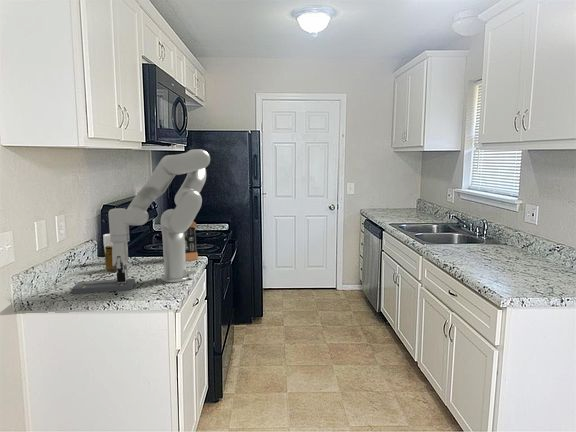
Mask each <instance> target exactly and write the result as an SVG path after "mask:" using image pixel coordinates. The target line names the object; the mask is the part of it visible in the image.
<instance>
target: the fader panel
mask: <svg viewBox="0 0 576 432" xmlns="http://www.w3.org/2000/svg"><path fill="white" fill-rule="evenodd" d="M135 284H136V278H127V281H126V283H118V282H117V278H115V279H103V280H101V279H100V280H88V281H87V280H86V281H84V280H83V281H78V282H76V283H75V285H74V286H73V287H71V289H70V290H71V294H72V295H73V294H75V295H76V294H86V293H87V294H89V293H90V294H91V293H103V292H106V293H107V292H117V291H119V292H121V291H132V290H133V289H134V287H135Z"/></svg>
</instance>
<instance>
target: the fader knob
mask: <svg viewBox="0 0 576 432" xmlns="http://www.w3.org/2000/svg"><path fill="white" fill-rule="evenodd" d="M124 272H125V280H126V281H127V279H128V278H127V275H128V267H127V268H126V269H124ZM126 281H125V282H118V283H126Z"/></svg>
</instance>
